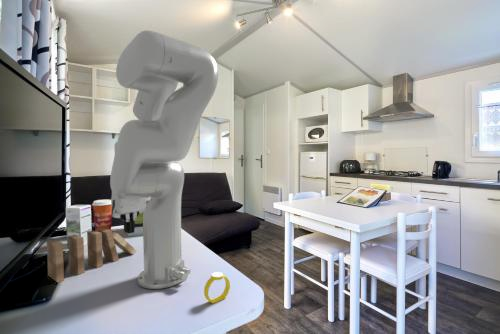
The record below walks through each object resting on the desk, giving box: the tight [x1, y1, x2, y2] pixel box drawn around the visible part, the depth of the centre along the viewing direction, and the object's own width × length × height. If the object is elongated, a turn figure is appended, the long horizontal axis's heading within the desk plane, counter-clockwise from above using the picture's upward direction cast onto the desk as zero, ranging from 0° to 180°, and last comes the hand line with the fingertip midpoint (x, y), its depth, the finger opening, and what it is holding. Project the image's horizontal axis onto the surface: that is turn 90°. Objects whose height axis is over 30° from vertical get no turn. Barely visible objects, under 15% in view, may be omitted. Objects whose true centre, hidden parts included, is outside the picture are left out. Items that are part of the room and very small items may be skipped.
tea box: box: [127, 197, 151, 237], centre depth 110 cm, size 15×10×15 cm
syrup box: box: [65, 204, 93, 247], centre depth 93 cm, size 6×6×14 cm
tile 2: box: [86, 229, 104, 269], centre depth 75 cm, size 5×2×10 cm, turn 59°
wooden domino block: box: [46, 239, 65, 284], centre depth 66 cm, size 5×2×10 cm, turn 59°
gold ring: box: [203, 271, 231, 304], centre depth 56 cm, size 6×3×6 cm, turn 128°
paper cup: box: [91, 199, 113, 232], centre depth 106 cm, size 8×8×14 cm
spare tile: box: [112, 231, 137, 256], centre depth 82 cm, size 5×2×10 cm
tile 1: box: [97, 228, 119, 263], centre depth 78 cm, size 5×2×10 cm, turn 59°
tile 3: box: [67, 235, 86, 276], centre depth 70 cm, size 5×2×10 cm, turn 59°
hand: (129, 232), depth 84 cm, fingers closed
